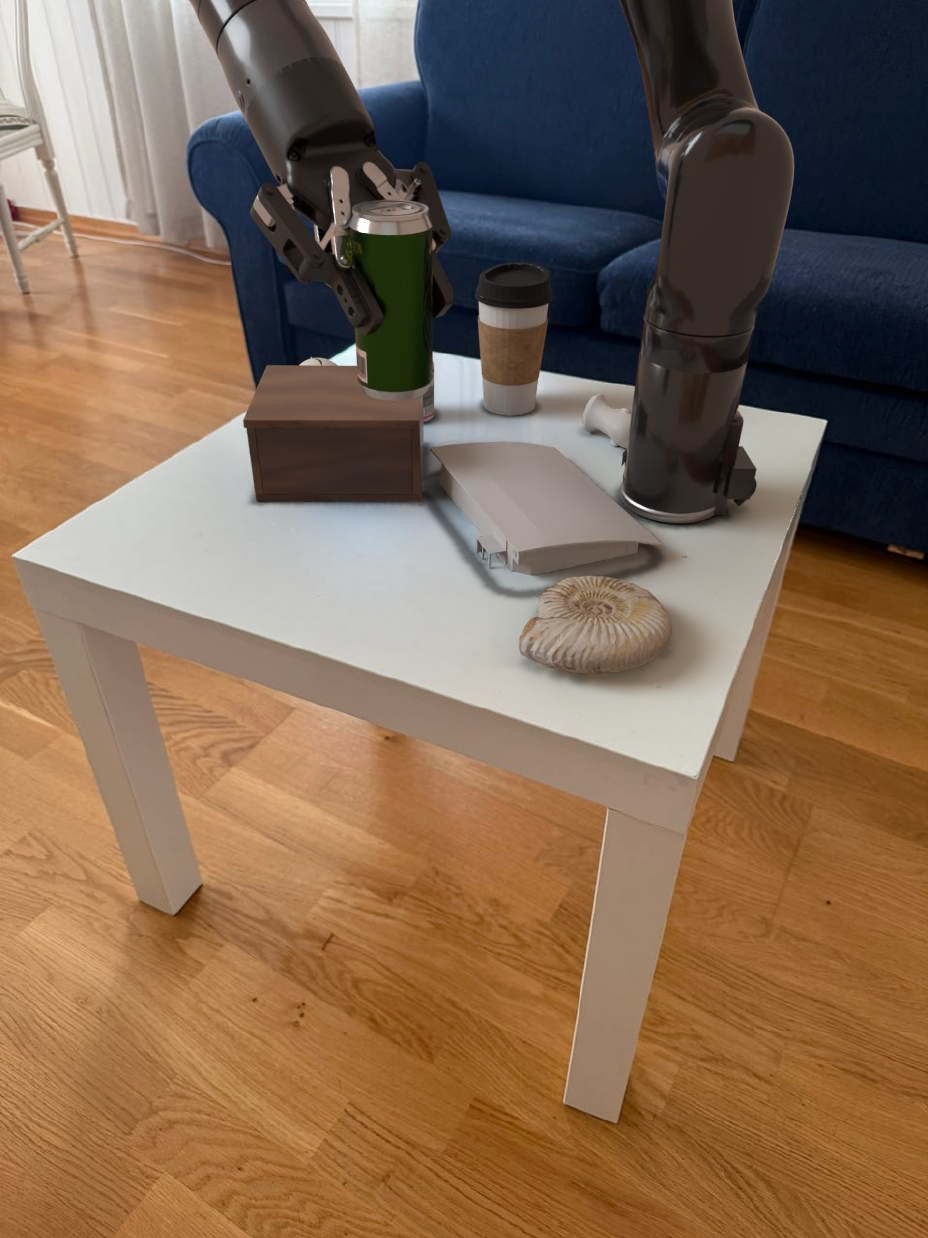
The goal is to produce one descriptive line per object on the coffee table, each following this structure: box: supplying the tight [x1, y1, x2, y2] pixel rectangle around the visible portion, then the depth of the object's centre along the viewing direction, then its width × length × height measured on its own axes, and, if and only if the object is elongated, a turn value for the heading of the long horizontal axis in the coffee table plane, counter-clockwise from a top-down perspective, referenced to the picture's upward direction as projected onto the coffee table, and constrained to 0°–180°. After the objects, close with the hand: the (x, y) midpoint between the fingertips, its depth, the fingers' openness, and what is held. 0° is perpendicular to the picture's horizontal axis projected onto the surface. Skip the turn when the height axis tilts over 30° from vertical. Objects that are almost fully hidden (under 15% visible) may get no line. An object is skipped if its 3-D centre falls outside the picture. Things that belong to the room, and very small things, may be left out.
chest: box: [245, 395, 425, 503], centre depth 89 cm, size 13×16×8 cm
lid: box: [242, 364, 421, 429], centre depth 86 cm, size 13×16×1 cm
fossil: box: [518, 575, 673, 674], centre depth 68 cm, size 12×5×10 cm
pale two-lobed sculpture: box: [582, 393, 632, 449], centre depth 97 cm, size 4×8×5 cm
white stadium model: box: [429, 441, 663, 576], centre depth 83 cm, size 15×23×4 cm, turn 22°
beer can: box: [350, 200, 434, 401], centre depth 61 cm, size 5×5×12 cm
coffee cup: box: [474, 262, 554, 417], centre depth 101 cm, size 8×8×15 cm
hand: (409, 318), depth 61 cm, fingers closed on beer can, 5 cm apart
